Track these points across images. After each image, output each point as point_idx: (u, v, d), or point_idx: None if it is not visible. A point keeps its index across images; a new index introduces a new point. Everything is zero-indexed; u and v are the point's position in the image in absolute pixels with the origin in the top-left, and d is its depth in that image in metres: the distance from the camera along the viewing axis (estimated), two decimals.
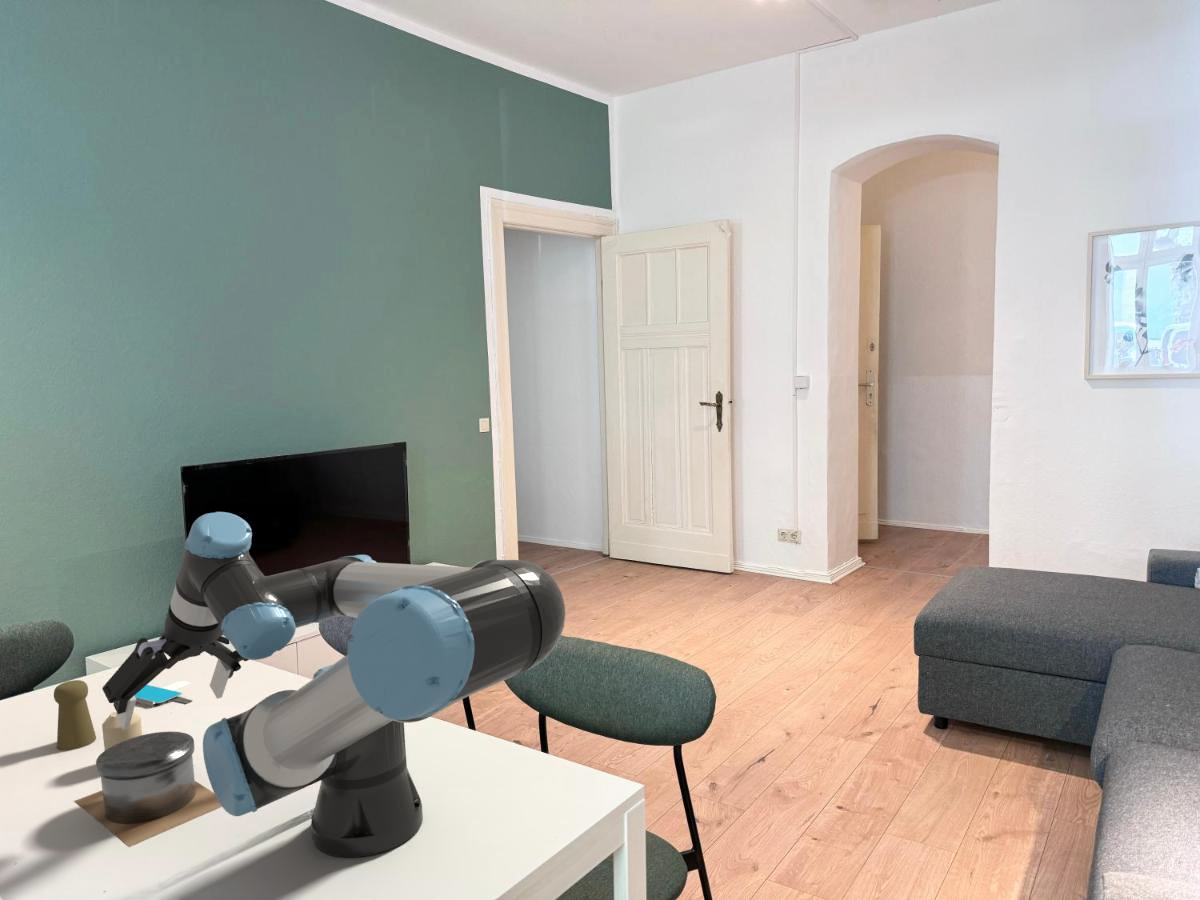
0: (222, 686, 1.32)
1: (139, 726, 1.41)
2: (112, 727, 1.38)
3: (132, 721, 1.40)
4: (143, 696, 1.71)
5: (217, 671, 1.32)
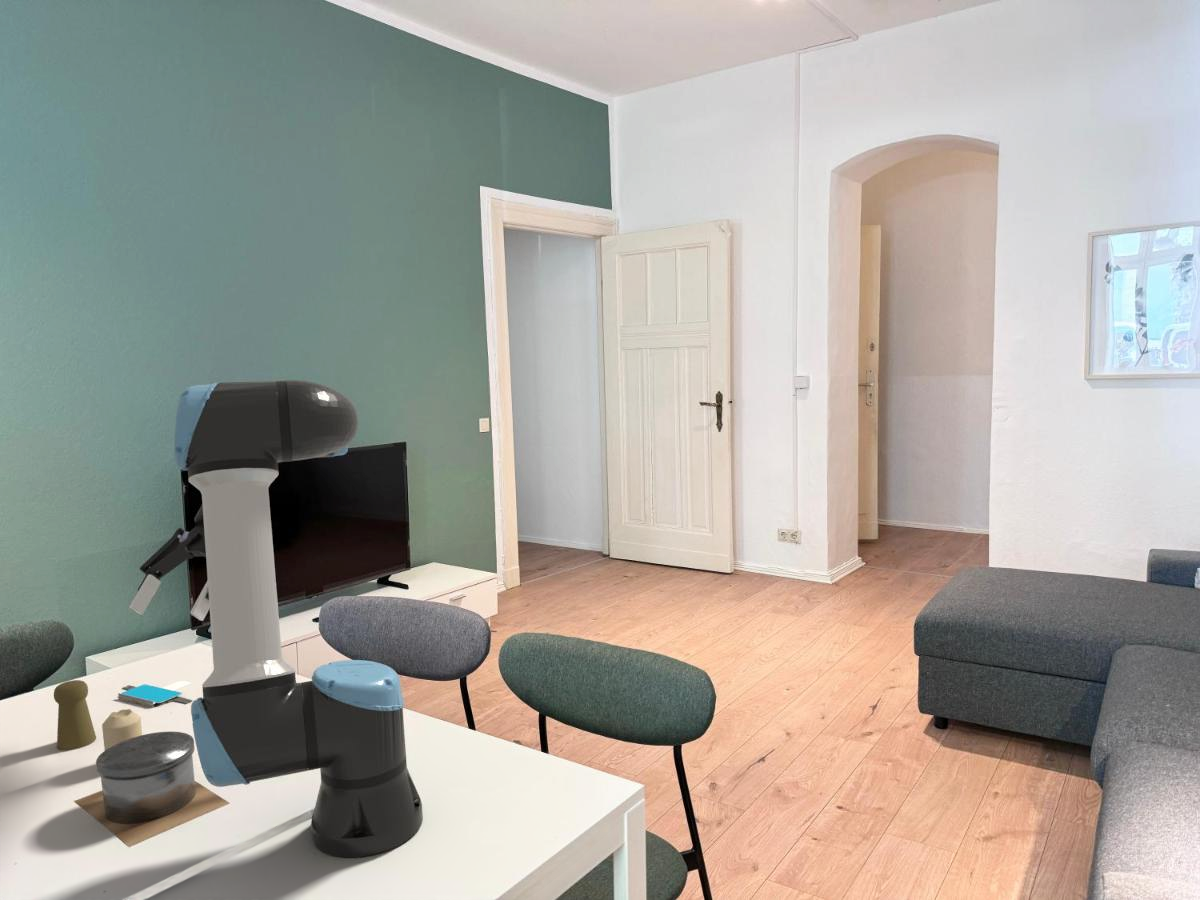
0: (198, 598, 1.47)
1: (139, 726, 1.41)
2: (112, 727, 1.38)
3: (132, 721, 1.40)
4: (143, 696, 1.71)
5: None
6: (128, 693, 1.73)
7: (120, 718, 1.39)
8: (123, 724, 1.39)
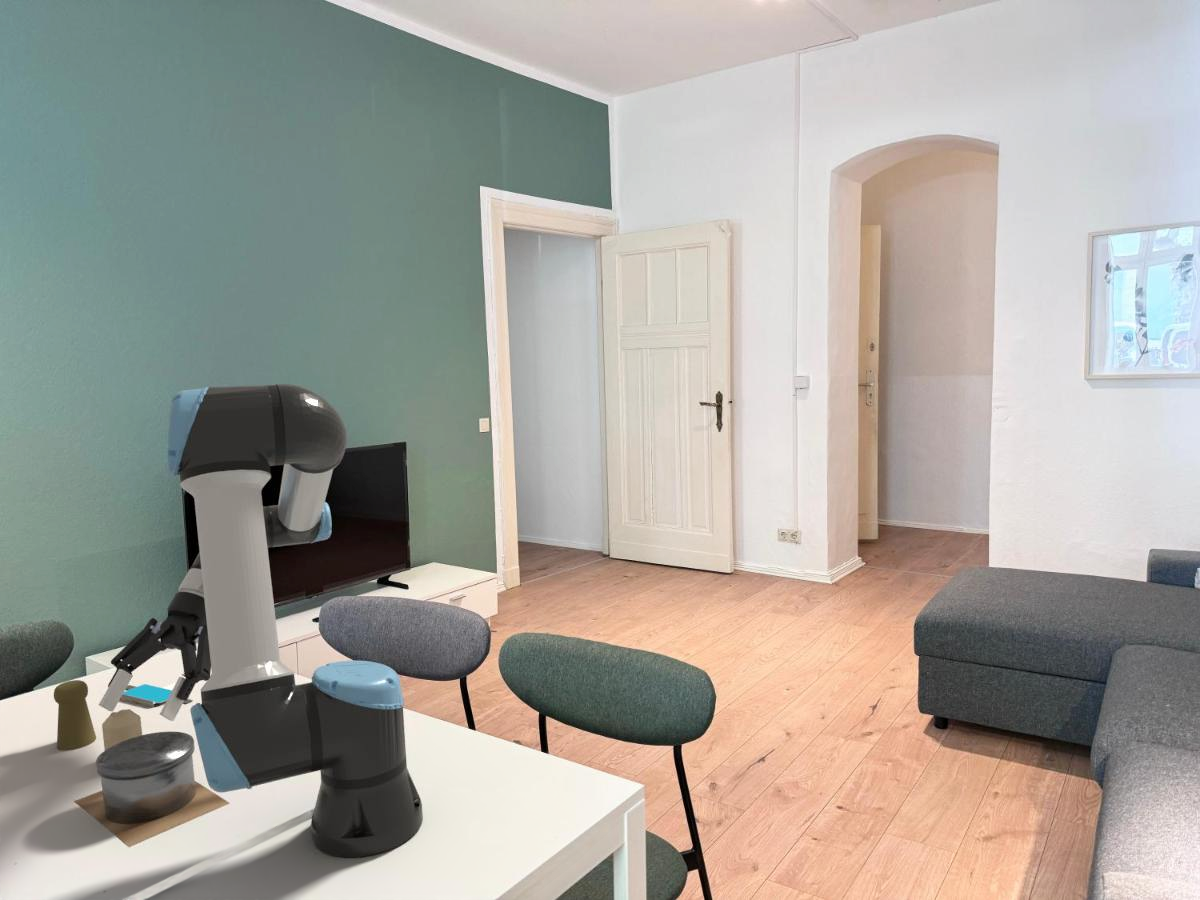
0: (169, 697, 1.42)
1: (139, 726, 1.41)
2: (112, 727, 1.38)
3: (132, 721, 1.40)
4: (143, 696, 1.71)
5: None
6: (128, 693, 1.73)
7: (120, 718, 1.39)
8: (123, 724, 1.38)
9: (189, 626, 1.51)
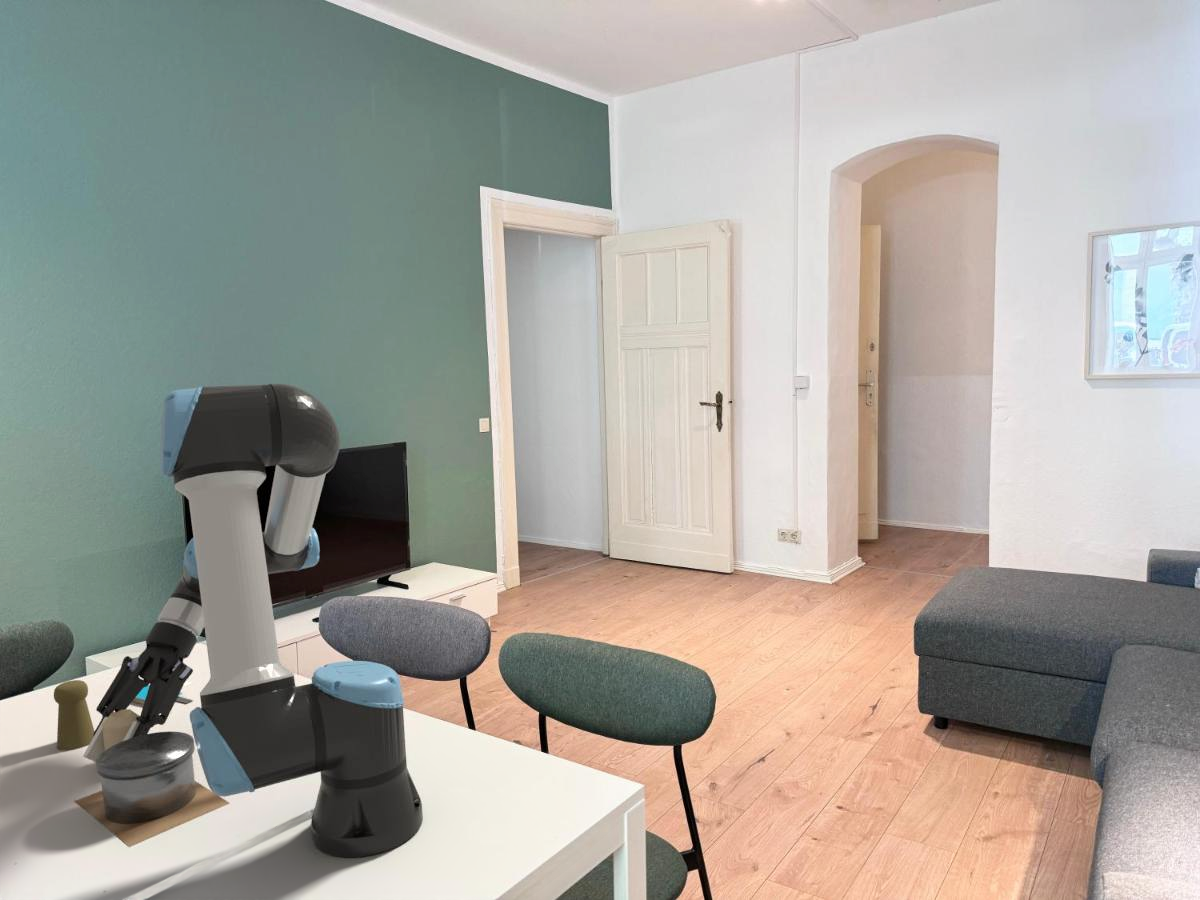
0: None
1: None
2: (112, 727, 1.38)
3: (132, 721, 1.40)
4: (143, 696, 1.71)
5: None
6: None
7: (120, 718, 1.39)
8: (123, 724, 1.38)
9: (169, 657, 1.46)
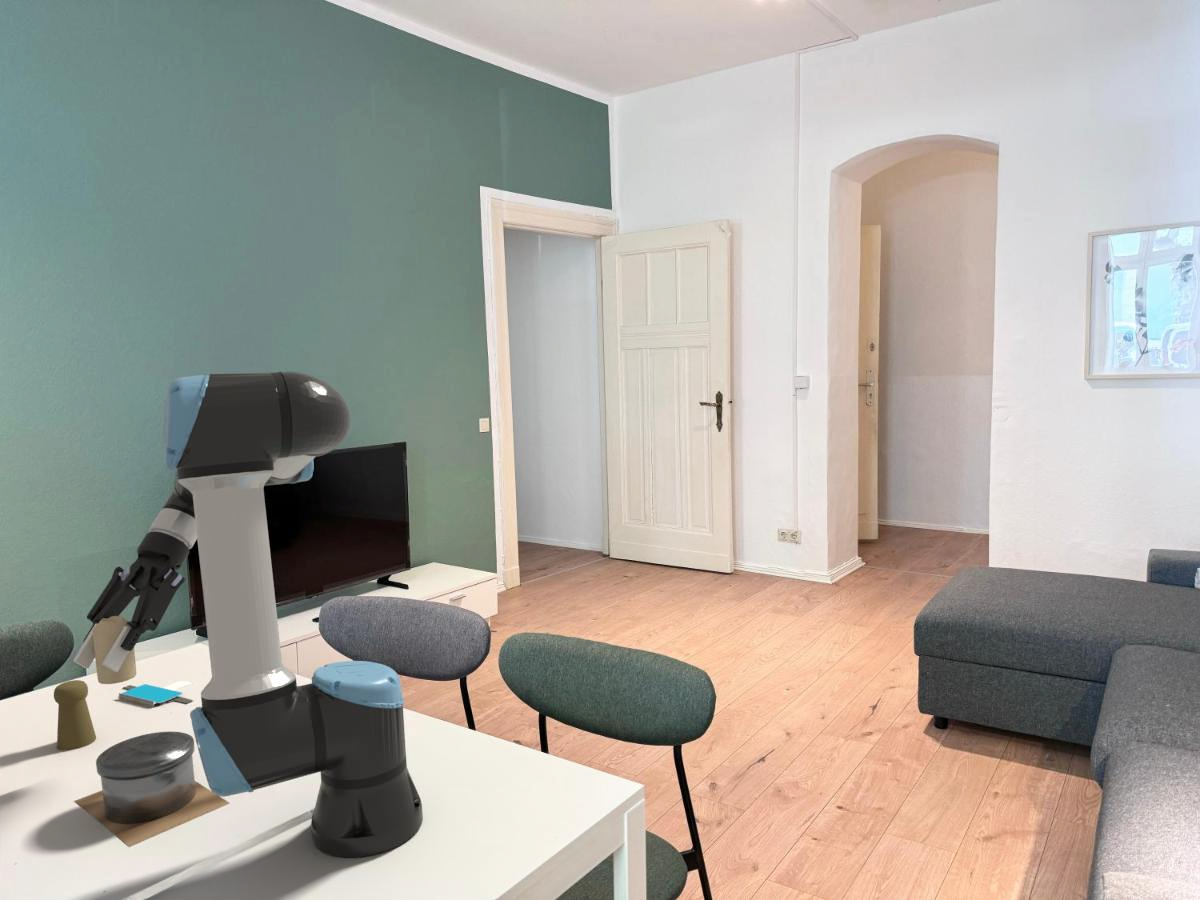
0: (112, 647, 1.35)
1: None
2: (103, 631, 1.36)
3: (123, 626, 1.38)
4: (143, 696, 1.71)
5: None
6: (129, 693, 1.73)
7: (111, 623, 1.37)
8: (114, 628, 1.36)
9: (161, 566, 1.44)
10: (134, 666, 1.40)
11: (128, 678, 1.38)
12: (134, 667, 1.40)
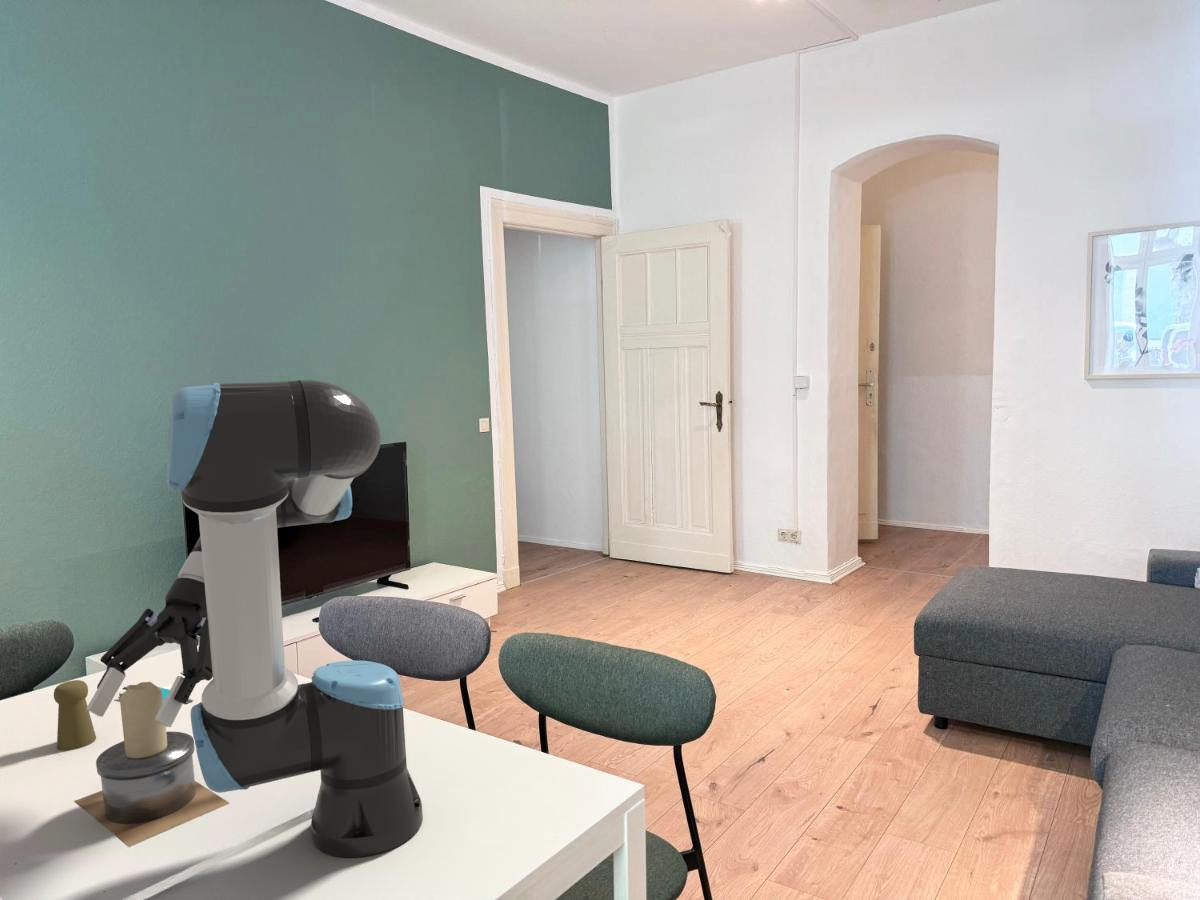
0: (165, 700, 1.23)
1: (161, 700, 1.27)
2: (131, 700, 1.24)
3: (154, 694, 1.25)
4: None
5: None
6: None
7: (140, 691, 1.25)
8: (144, 697, 1.24)
9: (190, 617, 1.32)
10: (165, 737, 1.27)
11: (159, 751, 1.26)
12: (165, 738, 1.27)
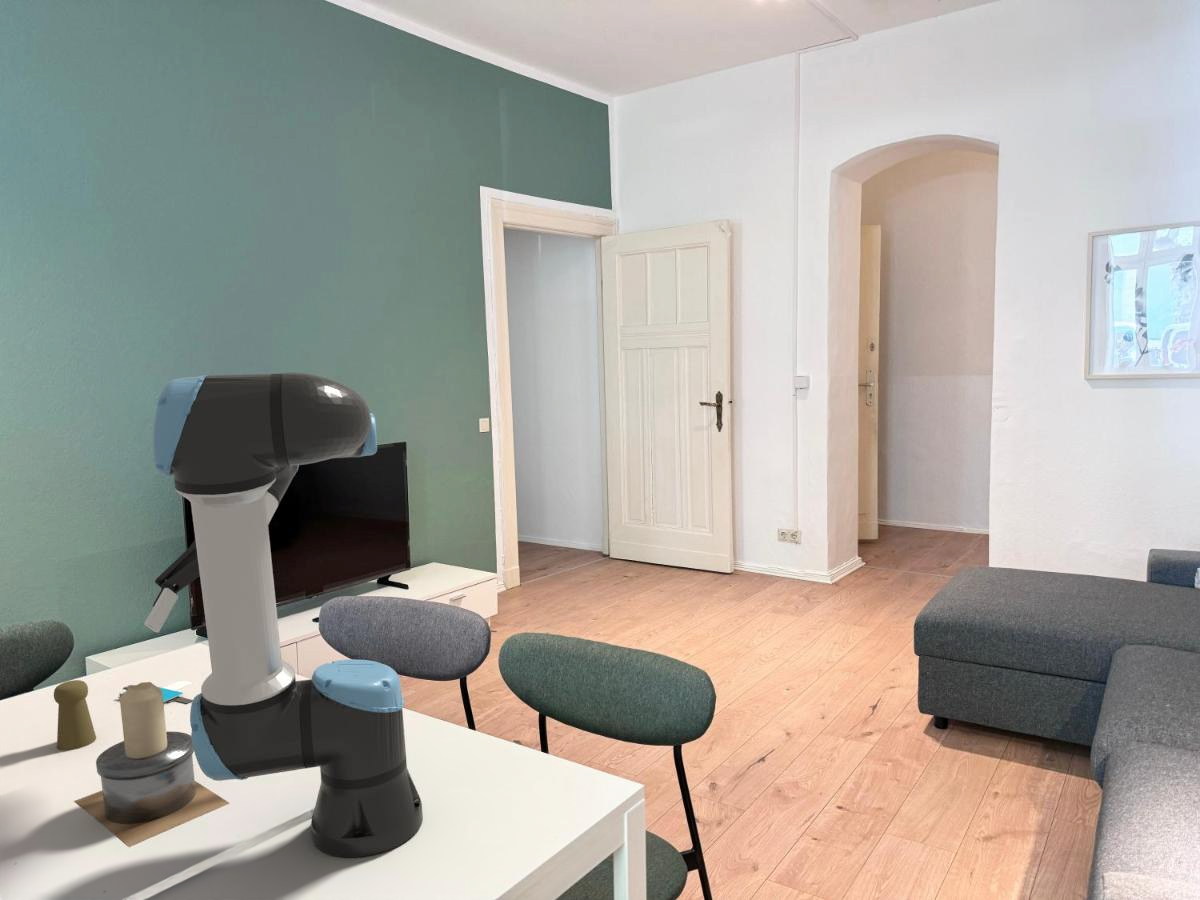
0: None
1: (161, 701, 1.26)
2: (131, 701, 1.24)
3: (154, 695, 1.25)
4: None
5: None
6: None
7: (140, 691, 1.25)
8: (144, 698, 1.24)
9: None
10: (165, 737, 1.27)
11: (159, 751, 1.26)
12: (165, 738, 1.27)
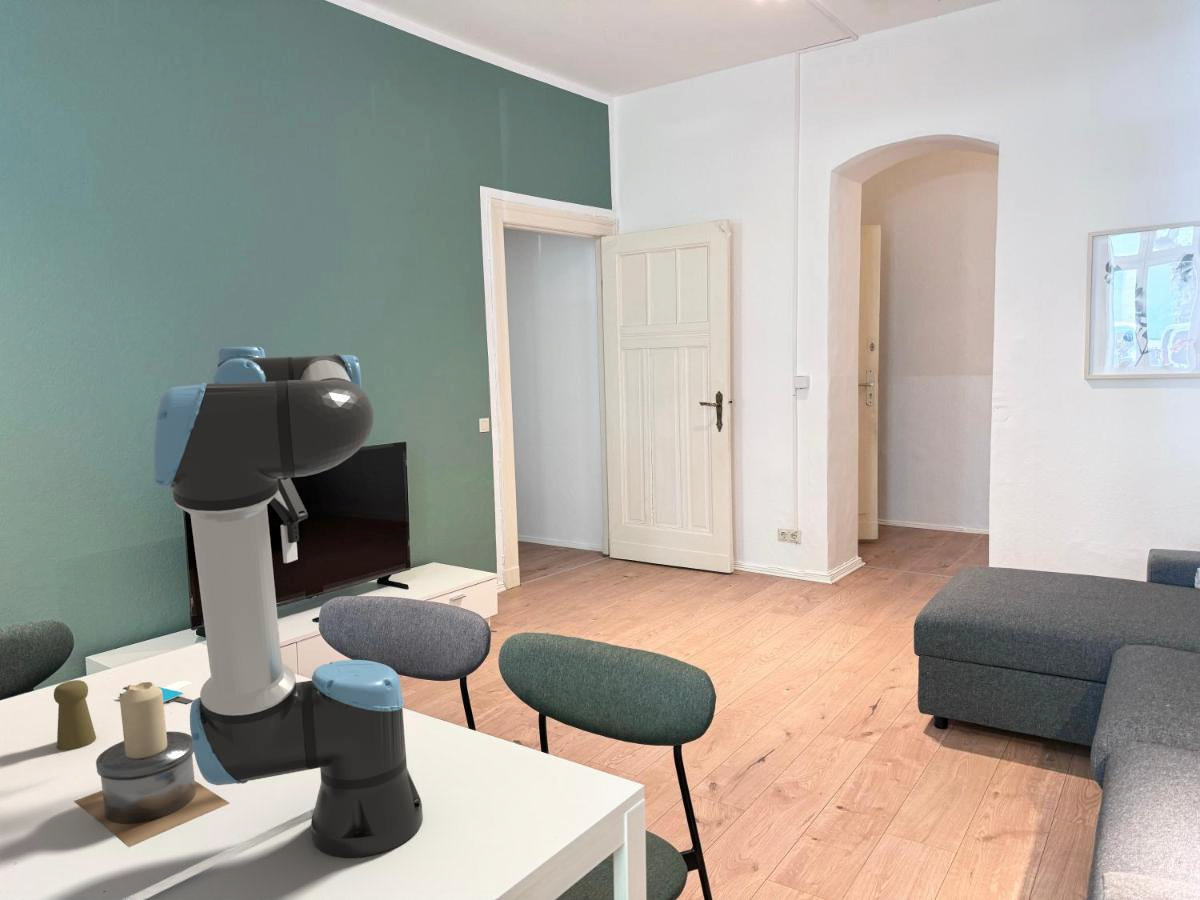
0: (283, 546, 1.46)
1: (161, 701, 1.26)
2: (131, 701, 1.24)
3: (154, 695, 1.25)
4: None
5: None
6: None
7: (140, 691, 1.25)
8: (144, 698, 1.24)
9: None
10: (165, 737, 1.27)
11: (159, 751, 1.26)
12: (165, 738, 1.27)
